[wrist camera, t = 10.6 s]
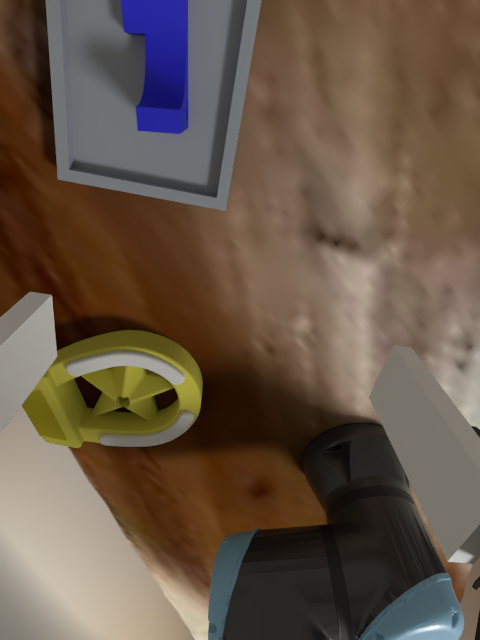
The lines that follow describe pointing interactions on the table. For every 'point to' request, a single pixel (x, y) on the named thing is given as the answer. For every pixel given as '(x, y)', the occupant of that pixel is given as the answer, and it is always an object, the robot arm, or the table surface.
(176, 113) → the blue long stepped piece
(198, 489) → the table surface
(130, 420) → the yellow rounded low piece
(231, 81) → the tray
